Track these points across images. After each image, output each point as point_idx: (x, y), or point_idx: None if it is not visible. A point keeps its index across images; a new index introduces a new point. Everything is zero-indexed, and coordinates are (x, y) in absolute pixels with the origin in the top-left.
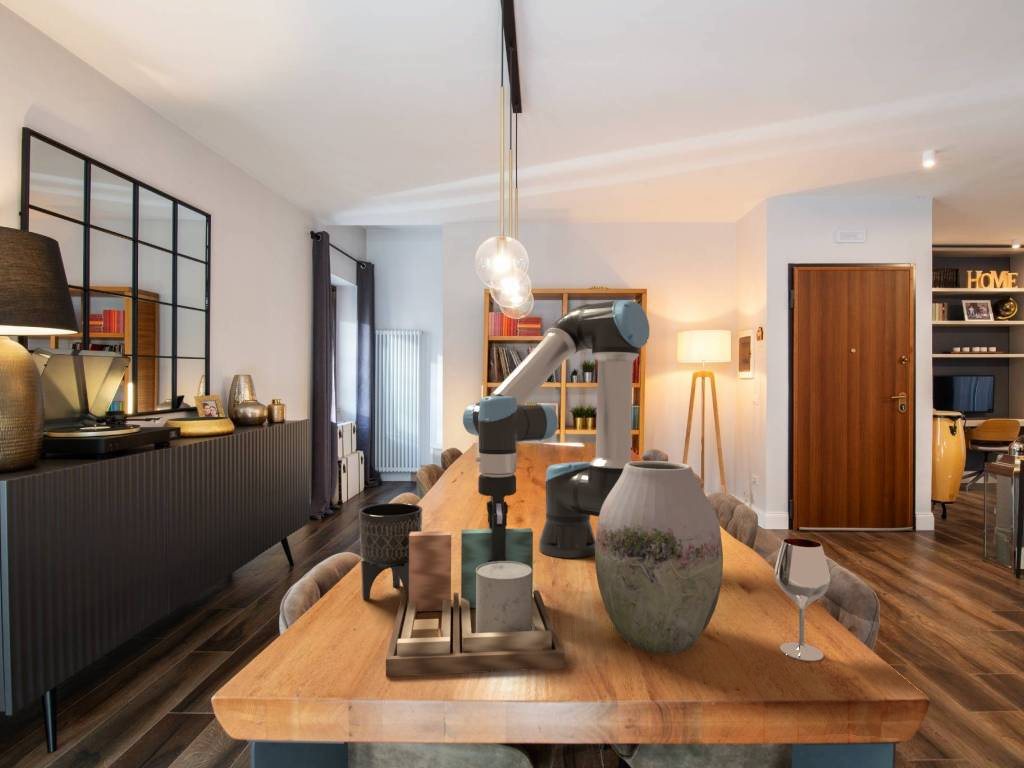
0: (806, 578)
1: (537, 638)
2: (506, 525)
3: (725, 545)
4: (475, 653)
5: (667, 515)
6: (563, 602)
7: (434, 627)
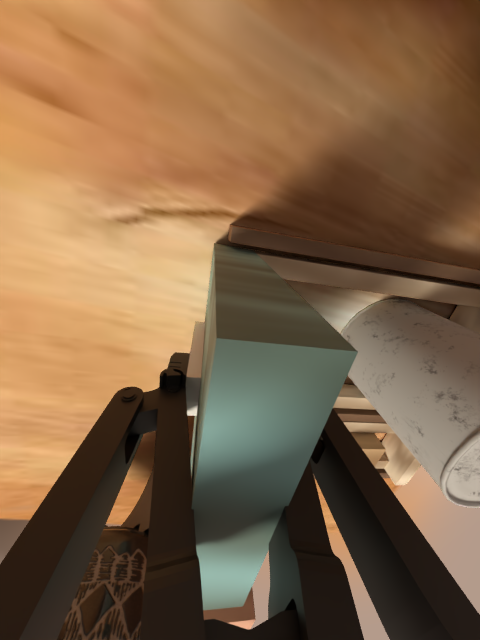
0: None
1: None
2: (343, 568)
3: None
4: None
5: None
6: (243, 143)
7: (379, 452)
